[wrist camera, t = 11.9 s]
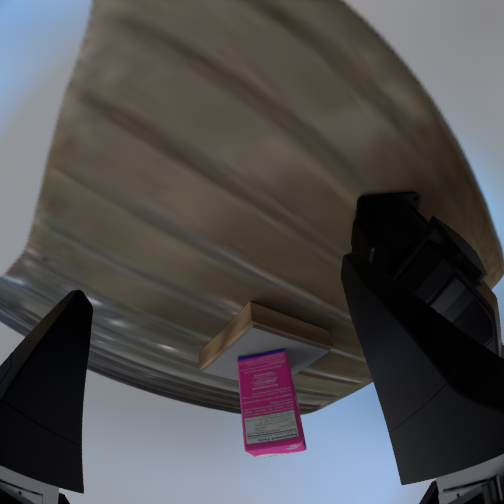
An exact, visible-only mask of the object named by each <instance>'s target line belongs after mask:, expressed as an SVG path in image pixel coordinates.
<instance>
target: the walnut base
mask: <svg viewBox="0 0 504 504" xmlns="http://www.w3.org/2000/svg"><path fill="white" fill-rule="evenodd" d="M283 348H284V349H285V350H286V355H287V359H288V362H289V366H290V368H291V372H292V376H293V375H295V374H296V373H298V372H299V371H301V370H302V369H304V368H305V367H307V366H309V365H310V364H311V363H313V362H314V361H316V360H317V359H319V358H320V357H322V356H323V355H325V354H326V353H327V352H329V351H330V349H332V348H333V344H332V341H331V338H330V334H329V331H328V330H326V329H323V328H320V327H317V326H314V325H311V324H309V323H306V322H303V321H300V320H298V319H295V318H292V317H290V316H287V315H284V314H282V313H279V312H276V311H274V310H271V309H268V308H266V307H263V306H261V305H258V304H255V303H253V302H249V303H248V304H247V305H246V306H245V307H244V308H243V309H242V310H241V311H240V312H239V313H238V314H237V315H236V316H235V317H234V318H233V319H232V320H231V321H230V322H229V323H228V324H227V325H226V326H225V327H224V328H223V329H222V330H221V331H220V332H219V333H218V334H217V335H216V336H215V337H214V338H213V339H212V340H211V341H210V342H209V343H208V344H207V345H206V346H205V347H204V348H203V349H202V350H201V351H200V352H199V369H198V370H202V371H203V372H205V373H208V374H212V375H216V376H220V377H225V378H229V379H233V380H238V381H239V378H238V365H237V357H240V356H246V355H252V354H258V353H263V352H268V351H273V350H278V349H283Z"/></svg>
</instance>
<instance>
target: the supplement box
mask: <svg viewBox="0 0 504 504" xmlns="http://www.w3.org/2000/svg"><path fill="white" fill-rule="evenodd" d="M237 365H238V378H239V390H240V402H241V414H242V425H243V437H244V447H245V451H246V452H248V453H250V454H252V455H253V456H255V457H257V458H264V457H271V456H276V455H283V454H289V453H295V452H299V451H304V450H306V444H305V439H304V433H303V428H302V422H301V418H300V412H299V406H298V401H297V396H296V391H295V386H294V381H293V376H292V372H291V368H290V366H289V362H288V359H287V355H286V350H285V349H284V348H283V349H278V350H273V351H268V352H263V353H258V354H252V355H246V356H240V357H237Z"/></svg>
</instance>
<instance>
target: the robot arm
mask: <svg viewBox="0 0 504 504" xmlns="http://www.w3.org/2000/svg"><path fill="white" fill-rule="evenodd" d="M415 196H416V197H415ZM414 197H415V198H414ZM419 200H420V196H419V194H418V193H416V192H403V193H389V194H377V195H366V196H361V197H359V198H358V200H357V209H356V219H355V220H354V222H353V229H352V238H351V245H352V253H349V254H345V255H344V256H343V261H342V269H341V280H342V284H343V288H344V292H345V295H346V299H347V303H348V307H349V311H350V315H351V318H352V322H353V325H354V328H355V330H356V333H357V336H358V339H359V341H360V344H361V347H362V350H363V352H364V355H365V358H366V361H367V364H368V367H369V370H370V373H371V376H372V379H373V382H374V385H375V388H376V391H377V394H378V398H379V401H380V404H381V407H382V410H383V414H384V418H385V421H386V424H387V428H388V432H389V436H390V439H391V443H392V447H393V451H394V455H395V459H396V463H397V467H398V472H399V476H400V480H401V484H402V485H406V484H411V483H416V482H421V481H425V480H429V479H434V478H436V480H435V481H433V482H432V483H431V485H430V486H429V488H428V490H427V492H426V493H425V495H424V497H423V498H422V500H421V501H420V503H419V504H504V345H503V343H502V339H501V327H500V318H499V310H498V303H497V298H496V296H495V294H494V293H493V292H492V290H491V289H490V288H489V286H488V285H487V284H486V283H485V281H484V280H485V279H486V277H487V276H488V274H487V272H486V270H485V268H484V266H483V264H482V262H481V260H480V258H479V256H478V254H477V253H476V251H475V250H474V249H473V248H472V247H471V246H470V245H469V244H468V243H467V242H466V241H465V240H464V239H463V238H462V237H461V236H460V235H459V234H458V233H457V232H455V231H454V230H453V229H451V228H450V227H449V226H447V225H446V224H444V223H443V222H442V221H440V220H439V219H437V218H436V217H435V216H432V218H431V219H430V221H429V222H430V223H429V222H428V221H427V220H426V219H425V218H424V217H423V216H422V215H421V214H420V213H419V212H418V211H417V210H418V205H419ZM363 201H365V202H364V203H363V204H362V202H363ZM92 315H93V307H92V305H91V303H90V302H89V300H88V299H87V297H86V296H85V294H84V293H83V291H81V290H73V291H71V292H69V293H68V294H67V295H66V296H65V297H64V298H63V299H62V300H61V301H60V302H59V303H58V304H57V305H56V306H55V307H54V308H53V309H52V310H51V311H50V312H49V313H48V314H47V315H46V316H45V317H44V318H43V319H42V320H41V321H40V322H39V323H38V324H37V325H36V327H35V328H34V329H33V330H32V331H31V332H30V333H29V334H28V335H27V336H26V337H25V338H24V340H23V341H22V342H21V343H20V344H19V345H18V346H17V347H16V349H15V350H14V351H13V352H12V353H11V354H10V355H9V357H8V358H7V359H6V360H5V361H4V362H3V364H2V365H1V366H0V504H70V503H69V501H68V500H67V498H66V497H65V495H64V494H62V493H59V488H63V489H66V490H70V491H74V492H78V493H84V485H83V469H82V447H81V446H82V417H83V400H84V389H85V379H86V371H87V363H88V356H89V349H90V337H91V325H92Z"/></svg>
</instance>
